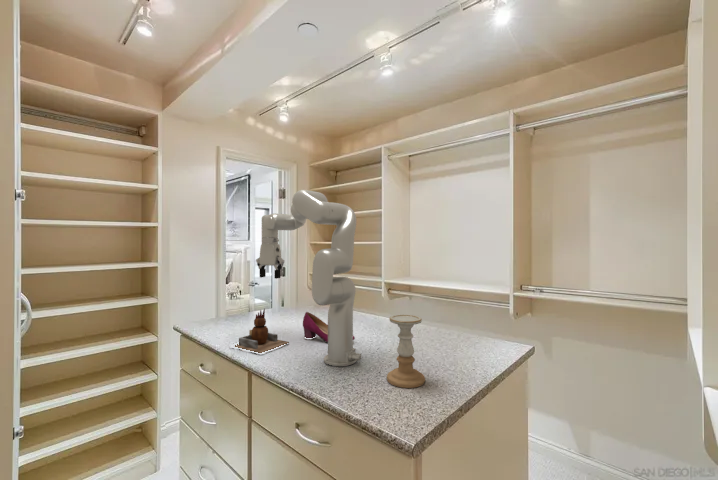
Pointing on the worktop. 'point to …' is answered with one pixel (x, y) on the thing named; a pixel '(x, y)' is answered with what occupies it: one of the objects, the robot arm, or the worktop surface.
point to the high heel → (315, 327)
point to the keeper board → (253, 345)
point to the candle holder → (405, 354)
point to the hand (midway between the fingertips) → (269, 277)
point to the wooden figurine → (260, 329)
